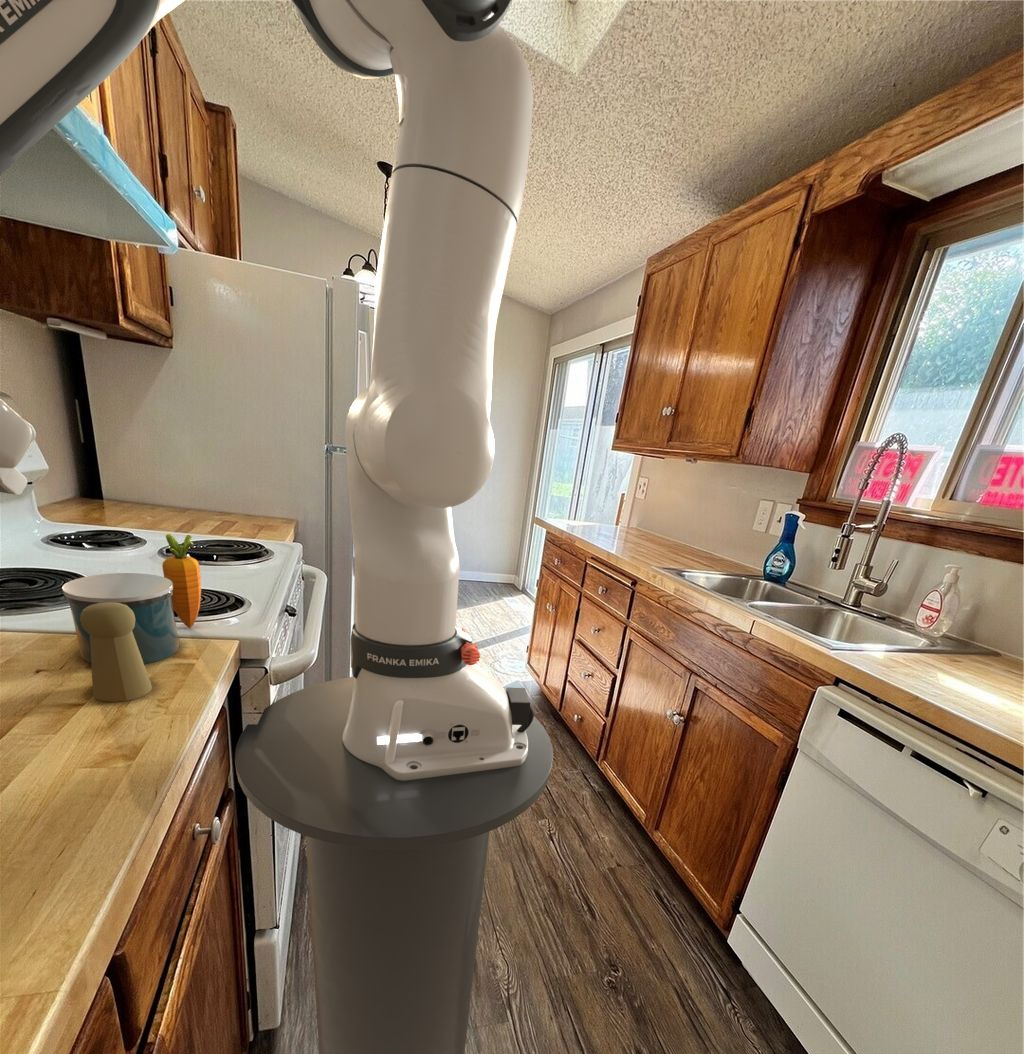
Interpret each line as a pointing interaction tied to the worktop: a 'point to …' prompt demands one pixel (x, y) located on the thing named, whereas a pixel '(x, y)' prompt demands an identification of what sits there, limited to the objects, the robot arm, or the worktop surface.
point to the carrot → (183, 580)
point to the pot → (141, 596)
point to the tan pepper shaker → (114, 653)
